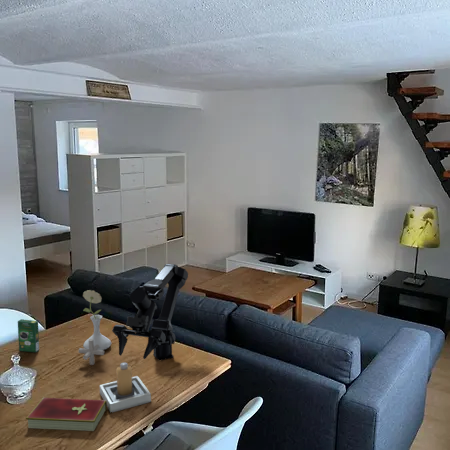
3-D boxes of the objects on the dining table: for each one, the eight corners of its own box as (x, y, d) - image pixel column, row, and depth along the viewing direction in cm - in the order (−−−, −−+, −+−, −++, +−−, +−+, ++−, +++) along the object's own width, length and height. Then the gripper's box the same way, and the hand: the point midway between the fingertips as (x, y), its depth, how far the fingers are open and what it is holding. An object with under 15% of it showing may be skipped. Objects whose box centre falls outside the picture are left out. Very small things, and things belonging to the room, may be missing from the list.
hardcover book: (44, 408, 154) (43, 396, 153) (107, 410, 153) (106, 398, 152) (26, 430, 142) (25, 417, 142) (94, 433, 141) (94, 420, 140)
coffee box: (40, 350, 196) (38, 320, 193) (36, 353, 193) (34, 322, 191) (23, 348, 197) (20, 318, 195) (18, 351, 194) (16, 321, 192)
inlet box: (137, 383, 169) (137, 375, 168) (150, 401, 157) (150, 393, 157) (99, 393, 162) (99, 385, 162) (110, 412, 151) (110, 404, 150)
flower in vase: (117, 346, 200) (115, 289, 195) (96, 356, 190) (94, 297, 186) (95, 339, 206) (93, 284, 202) (74, 348, 197) (71, 291, 193)
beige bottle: (125, 388, 164) (124, 358, 162) (138, 394, 161) (137, 363, 159) (111, 396, 159) (110, 365, 157) (124, 402, 155) (123, 370, 153)
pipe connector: (98, 371, 178) (96, 346, 176) (73, 368, 180) (72, 343, 178) (109, 359, 188) (108, 335, 186) (86, 357, 190) (85, 333, 188)
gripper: (113, 303, 168) (98, 345, 159) (161, 308, 163) (149, 352, 154) (124, 316, 177) (111, 356, 168) (171, 321, 172) (159, 363, 163)
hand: (131, 356), depth 163 cm, fingers open, 9 cm apart
